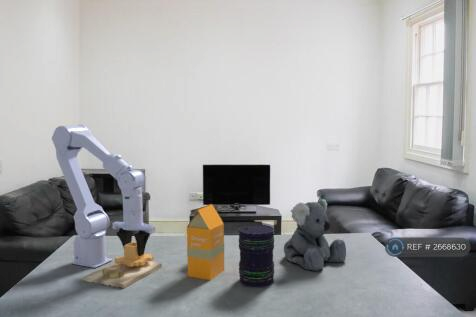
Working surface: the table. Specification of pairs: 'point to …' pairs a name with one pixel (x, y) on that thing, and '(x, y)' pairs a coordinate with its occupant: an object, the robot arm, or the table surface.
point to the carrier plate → (122, 274)
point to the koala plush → (312, 238)
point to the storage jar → (256, 255)
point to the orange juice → (205, 244)
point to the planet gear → (133, 256)
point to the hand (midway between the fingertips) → (134, 254)
